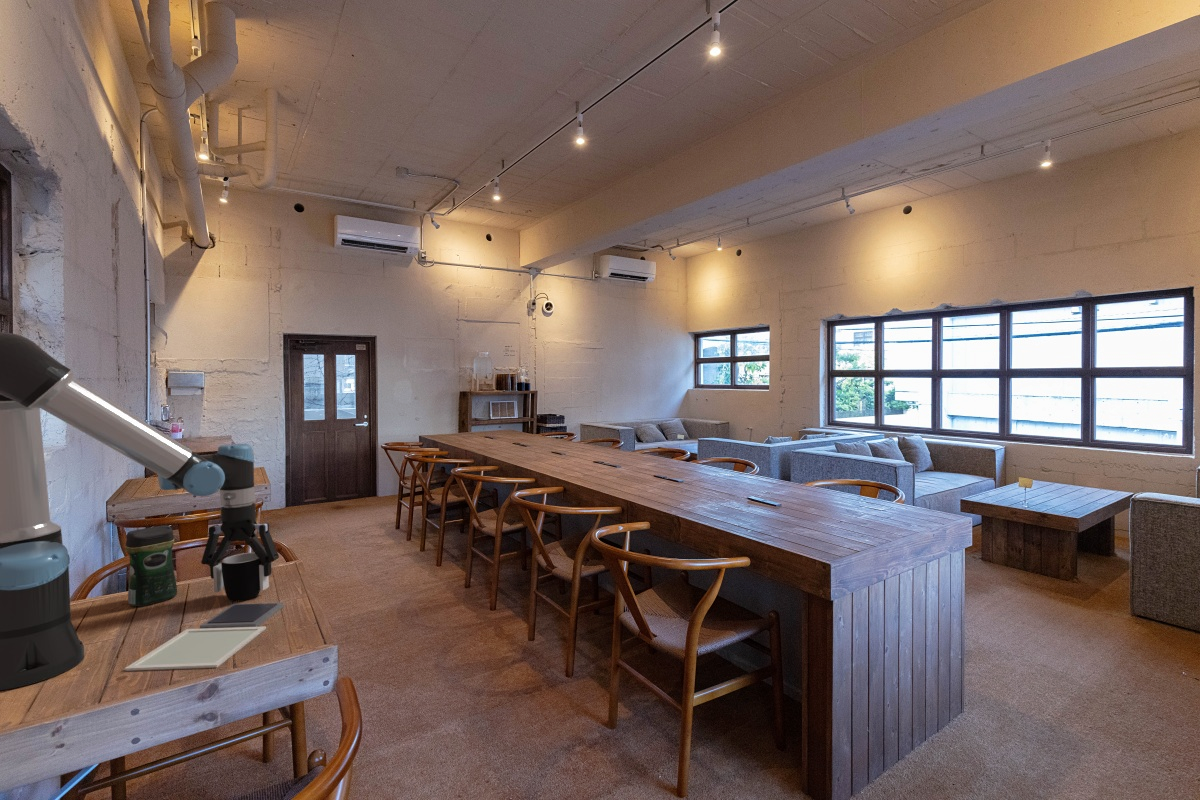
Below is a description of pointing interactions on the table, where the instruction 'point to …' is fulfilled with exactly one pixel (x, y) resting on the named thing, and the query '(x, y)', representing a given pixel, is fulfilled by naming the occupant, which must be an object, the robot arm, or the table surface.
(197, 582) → the table surface
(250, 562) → the mug
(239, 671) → the table surface
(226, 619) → the ink pad
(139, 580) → the coffee jar
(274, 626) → the table surface
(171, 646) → the marked square
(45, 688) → the table surface
